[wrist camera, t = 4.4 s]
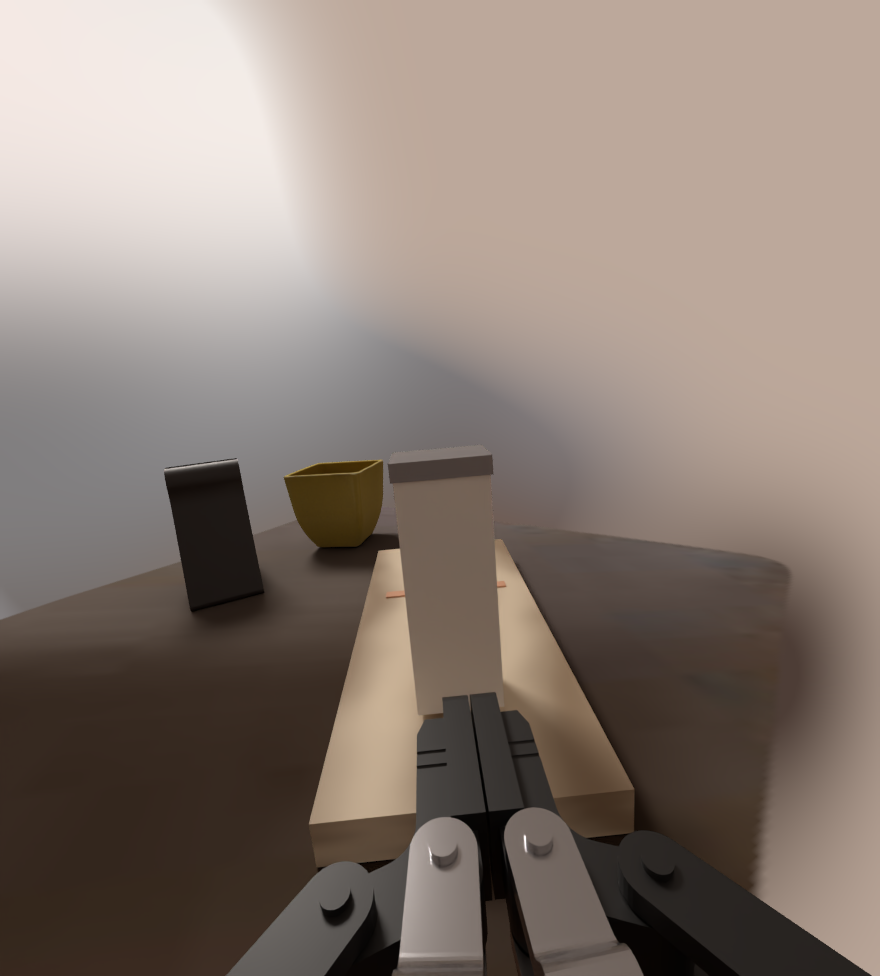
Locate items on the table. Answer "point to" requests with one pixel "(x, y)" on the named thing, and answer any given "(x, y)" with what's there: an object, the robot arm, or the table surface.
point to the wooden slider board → (395, 721)
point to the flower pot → (337, 501)
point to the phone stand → (213, 532)
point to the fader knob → (449, 571)
